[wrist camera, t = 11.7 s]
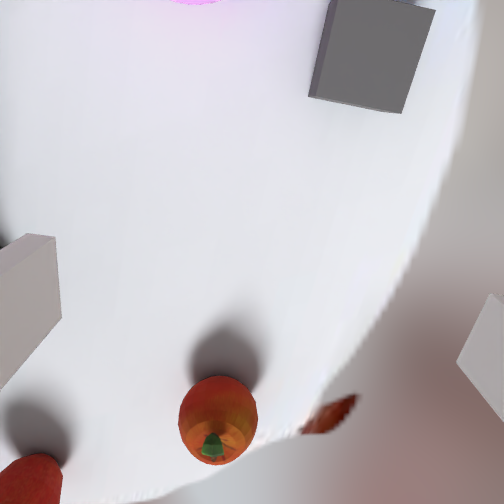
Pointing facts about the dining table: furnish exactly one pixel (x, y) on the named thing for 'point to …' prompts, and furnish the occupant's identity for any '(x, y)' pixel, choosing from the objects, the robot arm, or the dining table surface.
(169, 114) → the dining table surface
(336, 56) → the block
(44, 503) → the apple
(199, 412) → the fruit
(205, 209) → the dining table surface
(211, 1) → the teapot
